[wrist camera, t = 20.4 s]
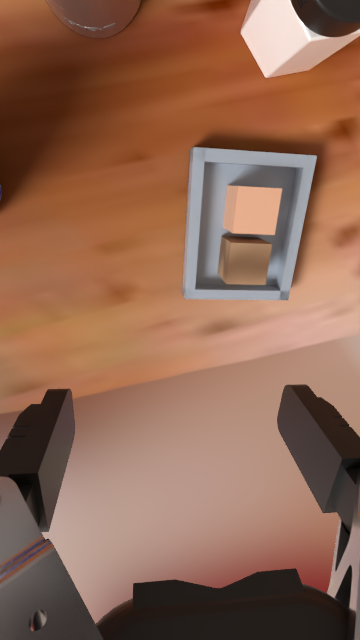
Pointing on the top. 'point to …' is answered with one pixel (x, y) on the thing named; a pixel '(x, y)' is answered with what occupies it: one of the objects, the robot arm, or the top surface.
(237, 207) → the block terracotta
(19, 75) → the top surface
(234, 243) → the block walnut
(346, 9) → the jar
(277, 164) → the tray
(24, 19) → the top surface
